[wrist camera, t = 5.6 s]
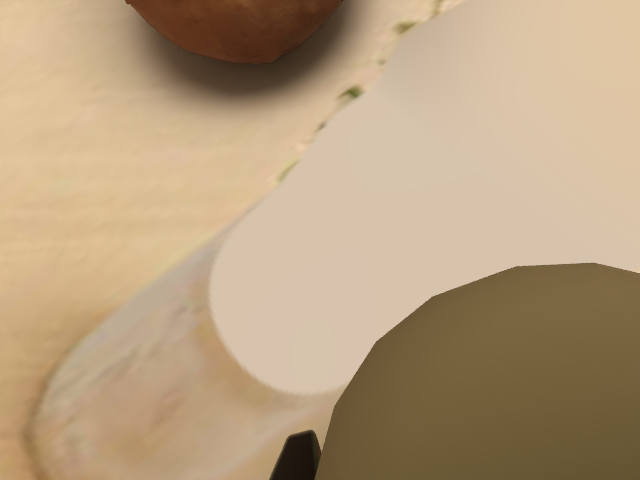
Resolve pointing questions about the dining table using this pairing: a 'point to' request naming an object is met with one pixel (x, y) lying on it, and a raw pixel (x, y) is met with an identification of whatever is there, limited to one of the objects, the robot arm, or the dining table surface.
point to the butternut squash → (237, 25)
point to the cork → (500, 384)
